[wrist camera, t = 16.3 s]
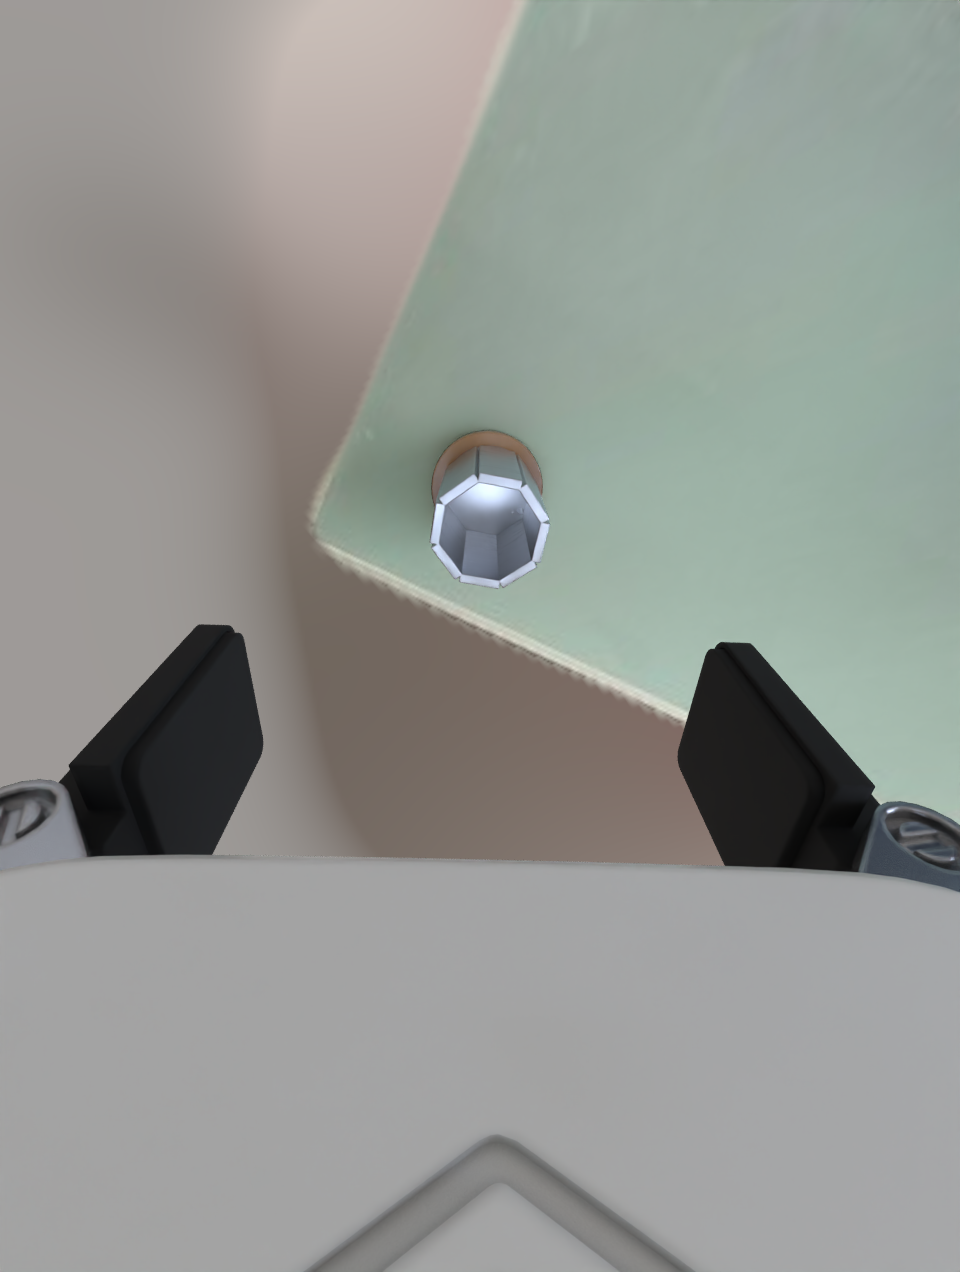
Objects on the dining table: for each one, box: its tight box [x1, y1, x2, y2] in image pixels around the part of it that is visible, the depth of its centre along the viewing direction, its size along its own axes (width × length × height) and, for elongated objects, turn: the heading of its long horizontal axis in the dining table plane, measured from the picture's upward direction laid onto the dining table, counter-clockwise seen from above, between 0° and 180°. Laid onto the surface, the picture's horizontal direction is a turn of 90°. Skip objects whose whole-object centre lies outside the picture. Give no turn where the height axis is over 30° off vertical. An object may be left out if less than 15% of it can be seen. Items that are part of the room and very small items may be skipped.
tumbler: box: [430, 445, 550, 589], centre depth 25 cm, size 5×5×6 cm
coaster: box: [431, 431, 543, 506], centre depth 28 cm, size 6×6×1 cm
